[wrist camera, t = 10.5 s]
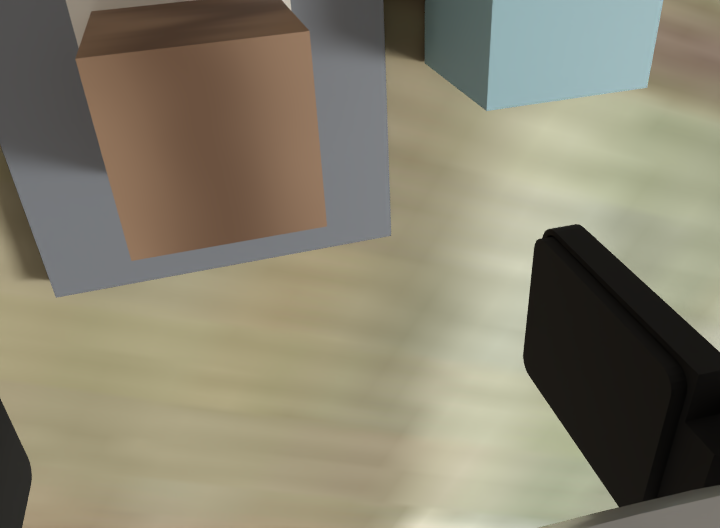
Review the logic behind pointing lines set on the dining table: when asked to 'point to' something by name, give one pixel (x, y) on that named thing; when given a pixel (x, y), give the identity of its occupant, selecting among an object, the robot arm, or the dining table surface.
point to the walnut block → (205, 122)
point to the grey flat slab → (86, 165)
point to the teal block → (540, 47)
